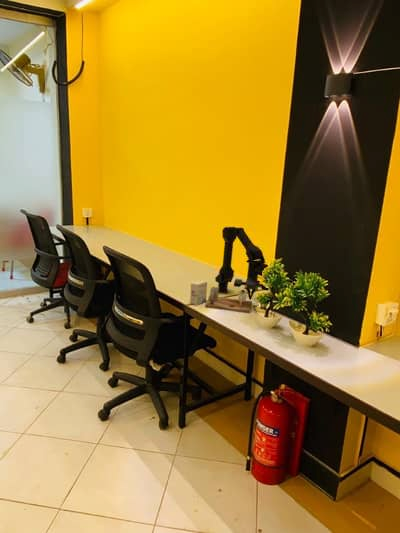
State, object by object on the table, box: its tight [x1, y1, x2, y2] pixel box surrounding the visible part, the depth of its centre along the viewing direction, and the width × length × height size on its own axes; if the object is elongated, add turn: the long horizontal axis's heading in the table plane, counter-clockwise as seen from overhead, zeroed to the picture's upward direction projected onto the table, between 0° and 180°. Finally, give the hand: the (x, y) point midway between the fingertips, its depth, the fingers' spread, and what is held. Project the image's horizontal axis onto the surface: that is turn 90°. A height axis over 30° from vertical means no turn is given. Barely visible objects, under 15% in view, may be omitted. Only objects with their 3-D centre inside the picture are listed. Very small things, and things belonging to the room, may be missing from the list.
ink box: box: [189, 279, 208, 306], centre depth 214 cm, size 9×5×12 cm, turn 141°
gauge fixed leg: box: [209, 286, 219, 303], centre depth 215 cm, size 9×4×6 cm, turn 168°
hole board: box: [204, 295, 253, 314], centre depth 214 cm, size 13×24×3 cm, turn 78°
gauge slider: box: [237, 289, 248, 307], centre depth 213 cm, size 9×4×7 cm, turn 168°
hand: (250, 299), depth 215 cm, fingers closed
